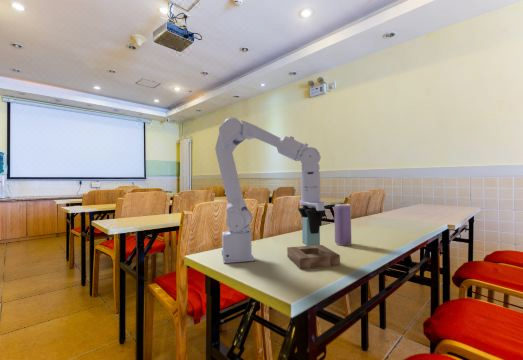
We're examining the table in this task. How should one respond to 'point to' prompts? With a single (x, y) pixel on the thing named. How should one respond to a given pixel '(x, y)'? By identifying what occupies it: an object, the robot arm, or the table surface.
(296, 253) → the well block
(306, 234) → the bracket post
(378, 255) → the table surface
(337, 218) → the beverage can
